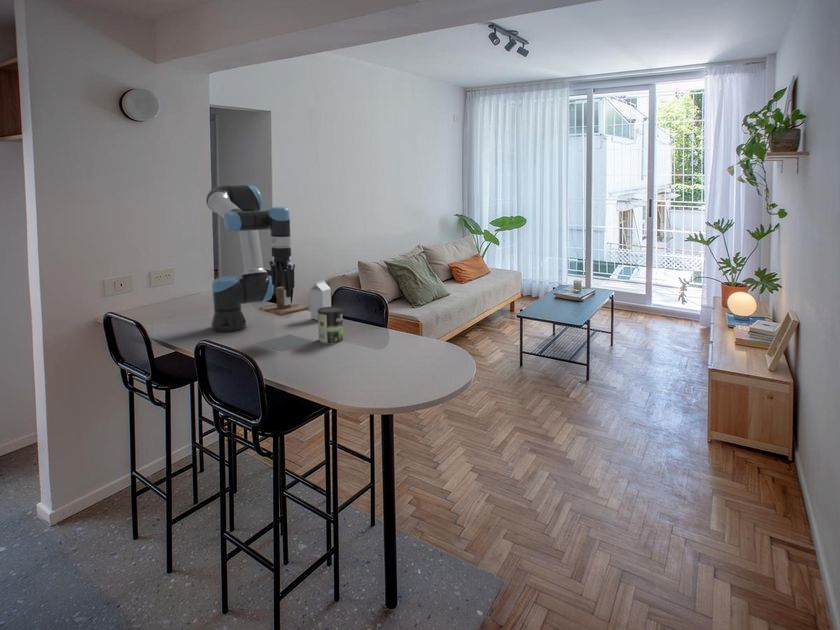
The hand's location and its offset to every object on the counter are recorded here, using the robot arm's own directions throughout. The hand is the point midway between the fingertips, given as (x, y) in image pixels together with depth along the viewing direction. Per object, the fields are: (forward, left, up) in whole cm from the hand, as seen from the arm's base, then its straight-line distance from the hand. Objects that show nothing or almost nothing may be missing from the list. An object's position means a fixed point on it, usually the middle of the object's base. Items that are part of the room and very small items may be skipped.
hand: (283, 303), depth 224 cm
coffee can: (+12, +14, -17) cm, 25 cm away
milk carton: (-20, +37, -17) cm, 45 cm away
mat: (0, 0, -17) cm, 17 cm away
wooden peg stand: (0, 0, -3) cm, 3 cm away
